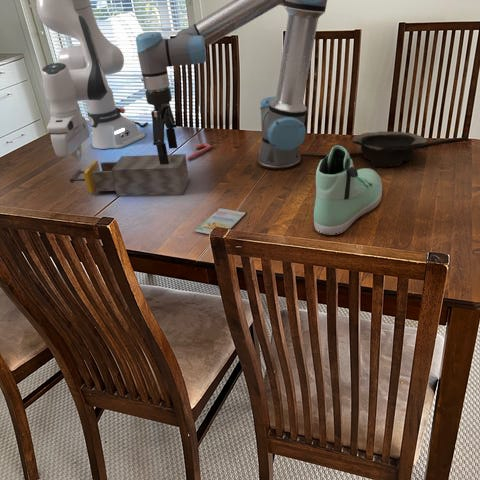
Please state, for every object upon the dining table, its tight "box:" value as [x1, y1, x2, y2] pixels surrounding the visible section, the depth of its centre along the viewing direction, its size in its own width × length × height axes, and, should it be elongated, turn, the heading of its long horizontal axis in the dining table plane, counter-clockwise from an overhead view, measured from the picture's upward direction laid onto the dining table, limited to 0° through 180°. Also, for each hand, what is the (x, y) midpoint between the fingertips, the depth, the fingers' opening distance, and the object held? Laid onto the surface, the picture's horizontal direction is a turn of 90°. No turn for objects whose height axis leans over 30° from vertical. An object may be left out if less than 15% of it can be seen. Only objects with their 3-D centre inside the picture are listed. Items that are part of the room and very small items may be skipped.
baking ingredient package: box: [194, 207, 246, 235], centre depth 137 cm, size 9×1×15 cm
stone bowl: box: [351, 131, 429, 168], centre depth 166 cm, size 25×25×9 cm
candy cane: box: [186, 143, 212, 161], centre depth 185 cm, size 6×15×2 cm, turn 145°
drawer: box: [69, 160, 118, 195], centre depth 160 cm, size 27×10×7 cm, turn 85°
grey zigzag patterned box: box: [111, 153, 190, 197], centre depth 158 cm, size 22×12×9 cm, turn 85°
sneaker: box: [313, 145, 383, 236], centre depth 133 cm, size 14×35×20 cm, turn 152°
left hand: (78, 160), depth 158 cm, fingers closed
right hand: (169, 155), depth 154 cm, fingers open, 13 cm apart
